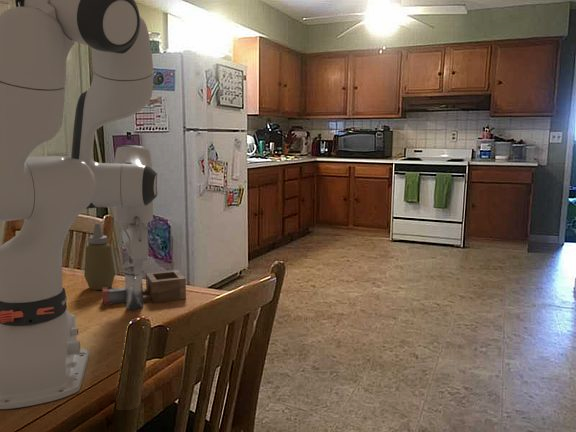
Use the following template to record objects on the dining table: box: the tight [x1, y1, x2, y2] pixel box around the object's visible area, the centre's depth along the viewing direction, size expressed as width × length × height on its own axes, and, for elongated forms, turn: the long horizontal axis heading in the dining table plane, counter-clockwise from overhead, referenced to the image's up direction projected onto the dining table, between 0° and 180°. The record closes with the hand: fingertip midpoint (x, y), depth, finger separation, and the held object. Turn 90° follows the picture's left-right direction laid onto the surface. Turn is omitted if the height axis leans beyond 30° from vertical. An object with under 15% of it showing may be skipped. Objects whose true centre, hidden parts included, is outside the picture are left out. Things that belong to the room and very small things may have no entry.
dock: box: [143, 269, 187, 304], centre depth 135 cm, size 9×13×6 cm
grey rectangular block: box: [101, 286, 126, 307], centre depth 130 cm, size 4×8×4 cm, turn 116°
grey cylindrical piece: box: [122, 265, 144, 312], centre depth 126 cm, size 5×5×10 cm
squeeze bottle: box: [84, 222, 116, 291], centre depth 140 cm, size 8×8×18 cm
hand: (134, 268), depth 125 cm, fingers open, 8 cm apart
